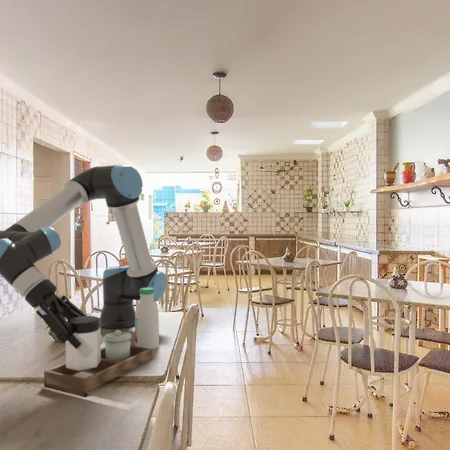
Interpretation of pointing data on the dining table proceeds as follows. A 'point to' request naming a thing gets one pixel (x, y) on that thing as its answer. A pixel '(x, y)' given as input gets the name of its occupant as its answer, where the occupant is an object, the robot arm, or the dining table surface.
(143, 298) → the milk bottle
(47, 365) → the dining table surface
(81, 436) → the dining table surface
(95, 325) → the jar
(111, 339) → the sugar pot
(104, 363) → the caddy
